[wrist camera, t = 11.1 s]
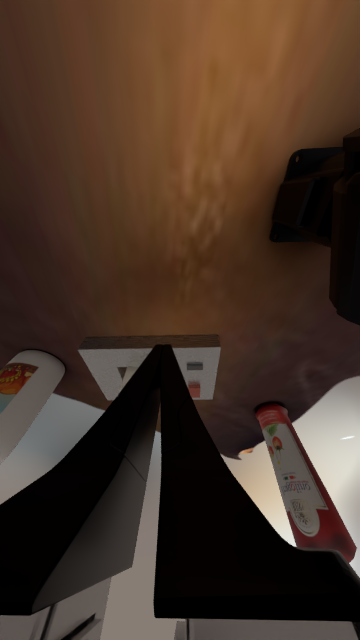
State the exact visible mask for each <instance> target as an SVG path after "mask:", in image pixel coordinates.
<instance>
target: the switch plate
mask: <svg viewBox="0 0 360 640" xmlns="http://www.w3.org/2000/svg"><path fill="white" fill-rule="evenodd" d="M156 344H163V345H164V344H171V346H172V349H173V351H174V354H175V356H176V359H177V361H178V364H179V366H180V369H181V372H182V374H183V377H184V379H185V382H186V384H187V387H188V389H189V392H190V396H191V397H192V399H213V393H214V387H215V381H216V375H217V368H218V362H219V356H220V350H221V346H220V342H219V338H218V335H190V336H138V337H86V338H85V340H84V341H83V343H82V344H81V346H80V347H79V349H78V351H79V353H80V354H81V356H82V358H83V359H84V361H85V363H86V365H87V366H88V368H89V370H90V371H91V373H92V375H93V376H94V378H95V380H96V381H97V383H98V385H99V386H100V388H101V390H102V392H103V393H104V395H105V397H106V398H107V400H114V399H115V398H116V397H117V396H118V394H119V393H120V388H121V385H122V382H123V379H124V375H125V372H126V369H127V368H126V367H139V366H140V365H141V363H142V362H143V361H144V359H145V358H146V357H147V355H148V354H149V353H150V351H151V350H152V349H153V347H154V346H155V345H156Z"/></svg>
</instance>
